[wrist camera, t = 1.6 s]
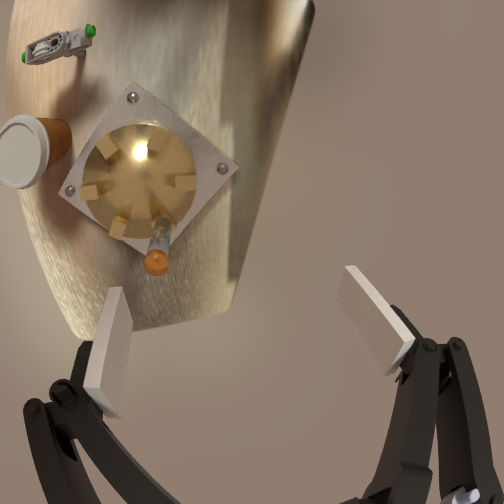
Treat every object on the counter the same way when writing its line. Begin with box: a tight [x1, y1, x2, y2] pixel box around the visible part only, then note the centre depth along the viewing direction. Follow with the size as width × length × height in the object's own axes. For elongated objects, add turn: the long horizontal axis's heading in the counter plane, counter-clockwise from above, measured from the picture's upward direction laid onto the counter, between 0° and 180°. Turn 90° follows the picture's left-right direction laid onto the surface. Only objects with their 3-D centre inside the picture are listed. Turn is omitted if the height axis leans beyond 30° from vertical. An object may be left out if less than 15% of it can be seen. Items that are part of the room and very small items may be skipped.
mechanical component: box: [22, 24, 96, 65], centre depth 21 cm, size 3×10×10 cm, turn 91°
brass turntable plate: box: [79, 123, 197, 276], centre depth 30 cm, size 16×16×14 cm
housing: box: [58, 81, 239, 256], centre depth 37 cm, size 20×20×3 cm
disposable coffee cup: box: [0, 114, 72, 189], centre depth 26 cm, size 10×10×12 cm
